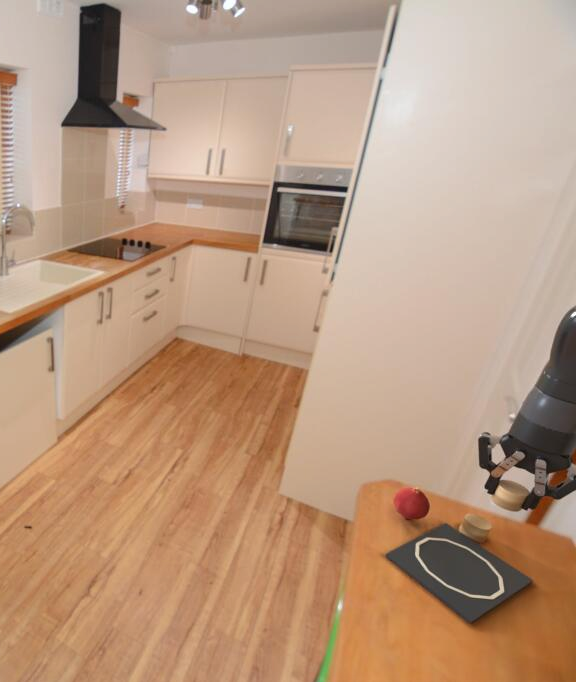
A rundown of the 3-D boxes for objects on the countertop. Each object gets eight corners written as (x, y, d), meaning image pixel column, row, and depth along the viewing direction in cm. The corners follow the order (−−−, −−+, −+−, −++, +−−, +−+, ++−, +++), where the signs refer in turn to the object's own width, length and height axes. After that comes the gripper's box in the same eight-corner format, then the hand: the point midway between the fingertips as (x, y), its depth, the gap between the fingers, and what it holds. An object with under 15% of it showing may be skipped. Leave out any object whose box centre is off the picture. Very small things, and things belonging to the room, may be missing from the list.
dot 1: (489, 538, 89) (496, 525, 87) (477, 545, 87) (484, 532, 86) (466, 523, 92) (472, 510, 90) (454, 530, 90) (460, 517, 89)
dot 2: (518, 515, 76) (527, 499, 75) (488, 501, 79) (495, 486, 78) (523, 504, 79) (532, 488, 77) (493, 491, 82) (501, 476, 80)
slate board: (531, 583, 80) (533, 579, 80) (470, 624, 73) (472, 620, 73) (444, 525, 92) (446, 522, 91) (385, 556, 85) (386, 553, 85)
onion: (392, 502, 97) (404, 473, 94) (425, 517, 93) (439, 487, 90) (385, 517, 93) (397, 487, 90) (419, 533, 90) (433, 503, 86)
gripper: (488, 406, 74) (450, 486, 82) (617, 449, 64) (561, 537, 72) (500, 390, 78) (463, 468, 86) (623, 429, 68) (569, 514, 76)
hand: (507, 499), depth 79 cm, fingers closed on dot 2, 4 cm apart
